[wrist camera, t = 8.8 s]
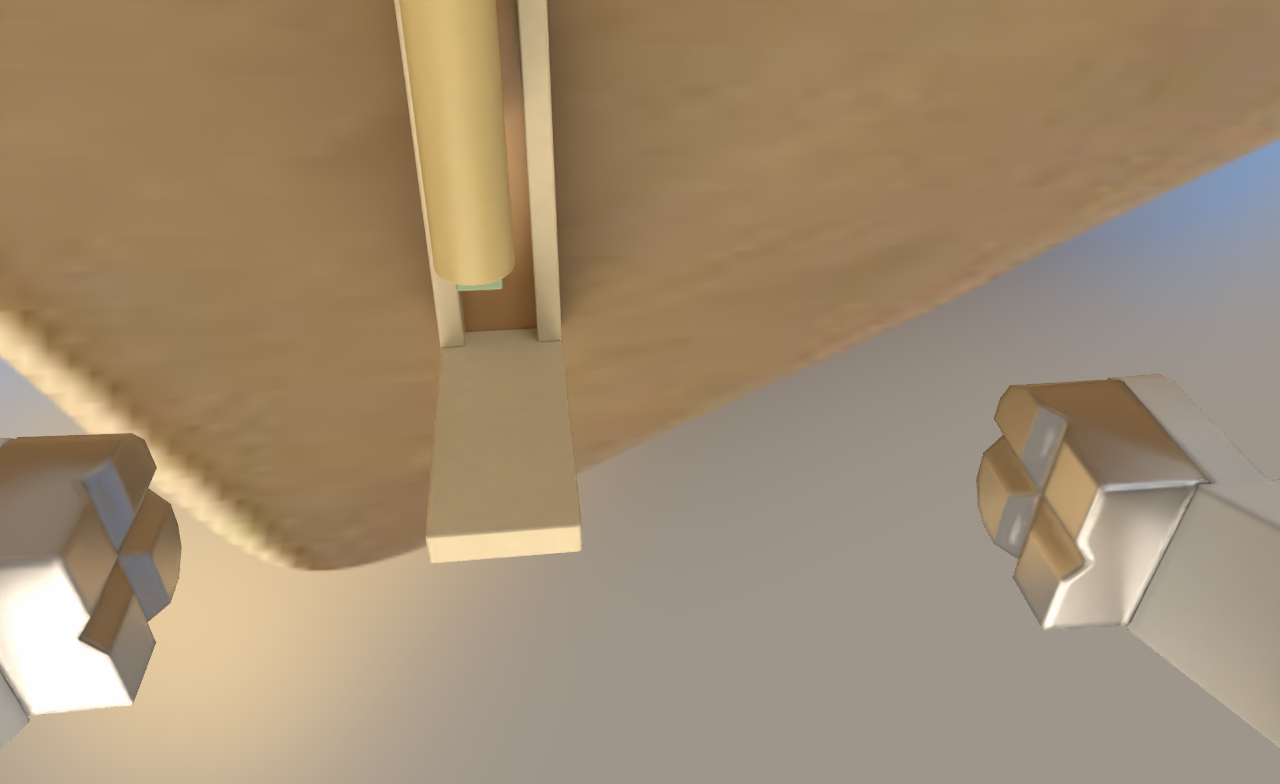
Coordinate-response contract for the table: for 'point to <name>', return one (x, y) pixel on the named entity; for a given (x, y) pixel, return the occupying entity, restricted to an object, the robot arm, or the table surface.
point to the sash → (461, 138)
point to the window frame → (506, 345)
